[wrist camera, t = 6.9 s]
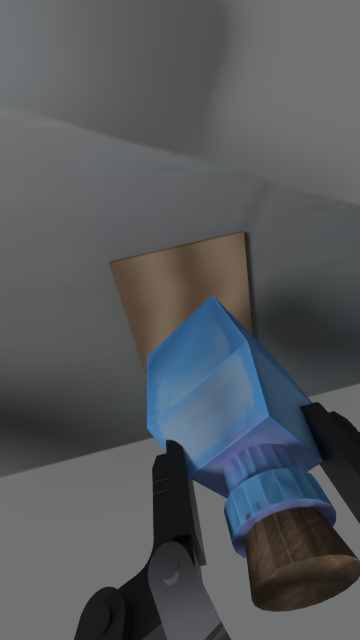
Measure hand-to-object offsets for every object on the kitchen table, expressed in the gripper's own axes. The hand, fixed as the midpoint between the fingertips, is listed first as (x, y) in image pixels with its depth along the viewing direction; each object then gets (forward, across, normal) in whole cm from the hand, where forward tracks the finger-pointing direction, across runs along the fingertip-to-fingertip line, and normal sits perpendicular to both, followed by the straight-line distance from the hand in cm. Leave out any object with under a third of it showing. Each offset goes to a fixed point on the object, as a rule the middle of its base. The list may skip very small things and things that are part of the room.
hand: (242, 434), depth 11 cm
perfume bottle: (+7, 0, 0) cm, 7 cm away
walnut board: (+17, 0, 0) cm, 17 cm away
